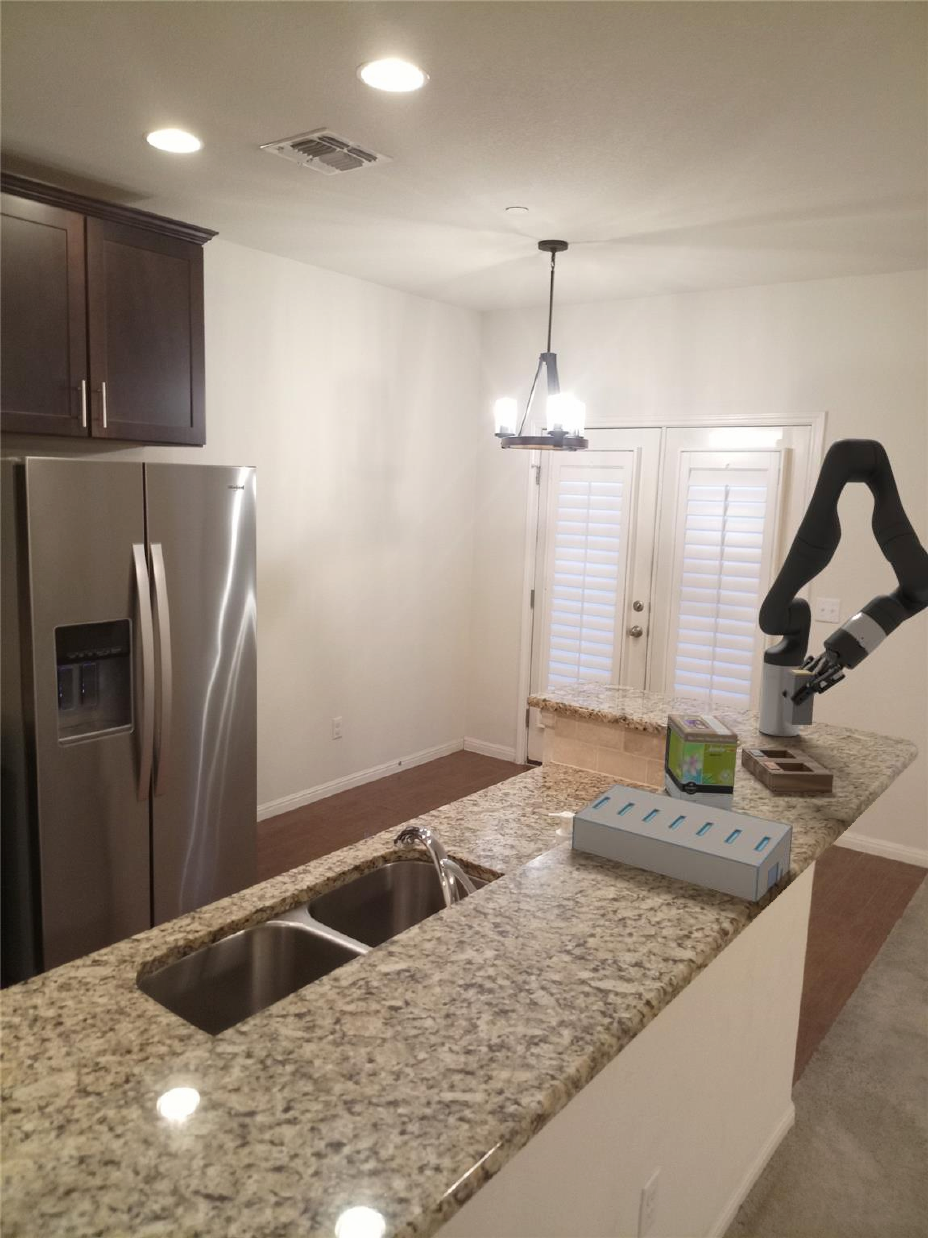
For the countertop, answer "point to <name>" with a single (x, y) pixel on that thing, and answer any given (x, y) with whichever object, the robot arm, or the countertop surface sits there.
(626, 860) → the multi-port usb hub
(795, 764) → the dock
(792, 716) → the grey rectangular block
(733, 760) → the tea box
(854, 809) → the countertop surface
